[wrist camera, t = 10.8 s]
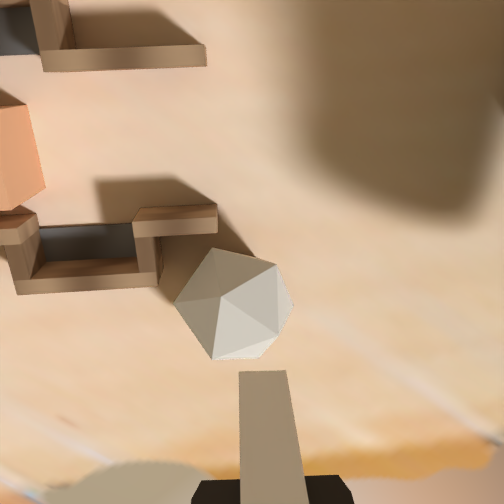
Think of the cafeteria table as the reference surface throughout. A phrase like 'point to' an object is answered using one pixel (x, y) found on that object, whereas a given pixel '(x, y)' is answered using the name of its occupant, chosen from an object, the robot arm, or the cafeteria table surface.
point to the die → (235, 305)
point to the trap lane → (94, 236)
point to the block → (18, 158)
